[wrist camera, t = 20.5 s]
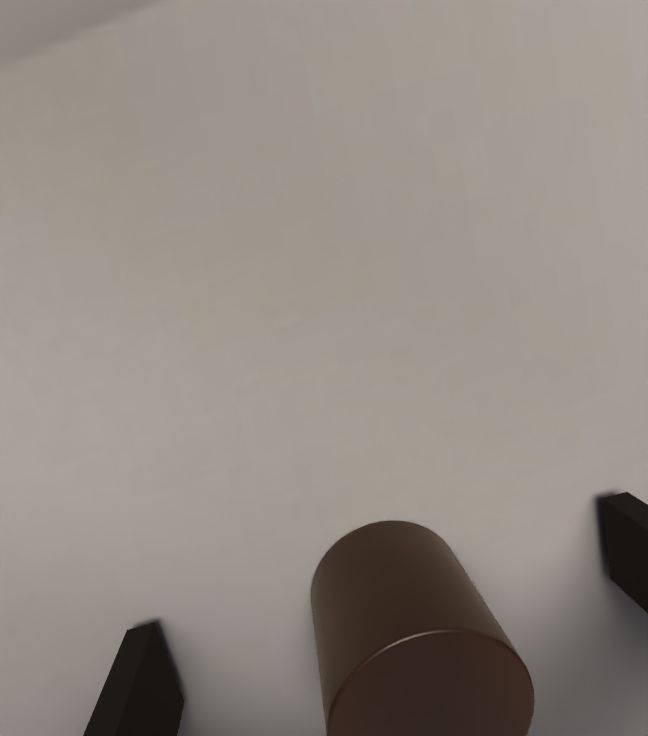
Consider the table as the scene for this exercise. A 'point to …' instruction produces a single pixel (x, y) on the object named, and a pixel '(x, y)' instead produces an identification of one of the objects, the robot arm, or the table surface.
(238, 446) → the table surface
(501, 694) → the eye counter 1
